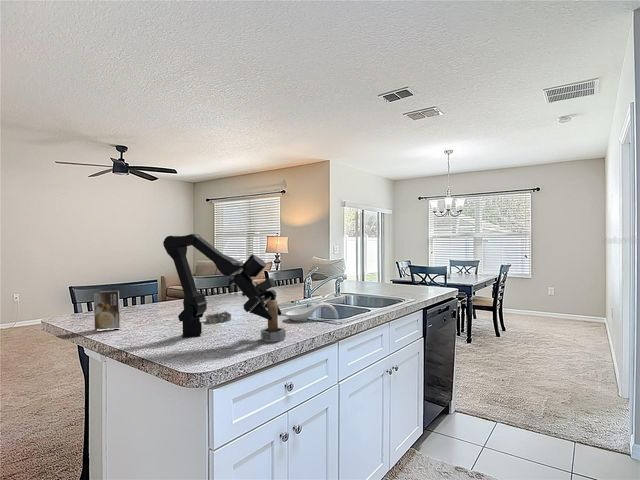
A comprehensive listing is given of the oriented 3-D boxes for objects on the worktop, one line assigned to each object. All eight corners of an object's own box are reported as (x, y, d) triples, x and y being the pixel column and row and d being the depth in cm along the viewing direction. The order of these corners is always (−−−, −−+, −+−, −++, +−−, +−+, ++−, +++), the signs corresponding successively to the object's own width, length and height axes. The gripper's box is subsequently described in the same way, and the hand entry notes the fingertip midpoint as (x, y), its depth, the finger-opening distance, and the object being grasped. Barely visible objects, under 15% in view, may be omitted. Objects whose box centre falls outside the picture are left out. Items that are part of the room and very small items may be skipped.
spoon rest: (286, 323, 164) (285, 307, 164) (285, 318, 176) (285, 302, 176) (339, 321, 167) (339, 305, 167) (335, 316, 179) (335, 300, 179)
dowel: (271, 338, 134) (271, 302, 135) (266, 336, 137) (265, 301, 137) (280, 336, 137) (279, 300, 137) (274, 335, 140) (273, 299, 140)
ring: (263, 343, 132) (263, 333, 132) (259, 337, 140) (259, 328, 140) (287, 340, 134) (287, 331, 134) (281, 335, 142) (281, 326, 142)
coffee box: (120, 327, 163) (120, 289, 163) (119, 330, 157) (119, 291, 157) (96, 329, 159) (95, 291, 159) (94, 332, 153) (93, 293, 153)
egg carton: (210, 324, 166) (209, 315, 166) (204, 321, 172) (204, 312, 172) (233, 321, 172) (232, 312, 172) (226, 318, 178) (226, 309, 178)
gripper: (251, 272, 129) (282, 305, 126) (271, 268, 147) (298, 297, 144) (230, 295, 131) (260, 328, 128) (252, 288, 149) (279, 317, 146)
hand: (276, 316), depth 137 cm, fingers open, 9 cm apart
